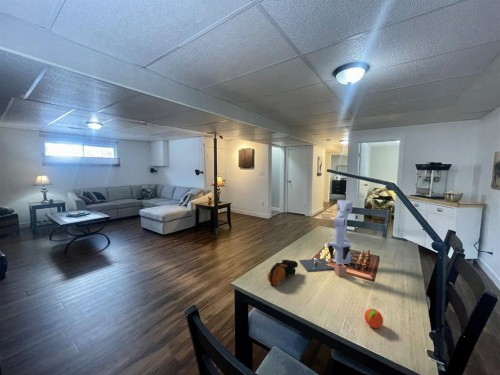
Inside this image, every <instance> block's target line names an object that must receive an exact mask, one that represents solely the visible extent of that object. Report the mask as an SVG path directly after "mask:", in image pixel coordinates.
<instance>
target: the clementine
mask: <svg viewBox="0 0 500 375" xmlns="http://www.w3.org/2000/svg"><path fill="white" fill-rule="evenodd" d="M364 320H365V322H366V324H367V325H369V327H371V328H373V329H378V328H381V327H382V326H383V324H384V317H383V315H382V314H381V312H379V311H378V310H377V309H374V308H369V309H367V310H365V312H364Z"/></svg>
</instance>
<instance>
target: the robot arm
mask: <svg viewBox="0 0 500 375" xmlns="http://www.w3.org/2000/svg"><path fill="white" fill-rule="evenodd" d="M336 208H337V214H336V217H335V218H334V219H333V220H334V222H333V224H334V238H333V242H326V247H327V249H328V251H329V256H330V259H331V260H332V261H333V262H334V263H335V262H336V263H343V264H345V263H351V260H352V259H351V257H352V255H351V251H350V250H351V249H352V244H350V239H349V238H348V237H347V225H348V224H347V223H348V216H349V215H350V214H352V211H353V200H346V199H338V200H337V203H336ZM334 254H335V255H334ZM336 263H335V264H336Z"/></svg>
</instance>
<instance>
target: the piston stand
mask: <svg viewBox="0 0 500 375" xmlns="http://www.w3.org/2000/svg"><path fill="white" fill-rule="evenodd" d="M313 260H314V261H313ZM318 261H319V262H321V263H318ZM298 262H299V263H300V264H301V266H302V267H303V268H304V270H305V271H306V272H318V271H333V270H334V268H335V267H333V266H332V265H331V266H328V265H326V264H330V263H328V261H327V260H326V259H325V258H318V257H314V259H313V258H312V259H299V260H298Z"/></svg>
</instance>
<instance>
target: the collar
mask: <svg viewBox="0 0 500 375" xmlns="http://www.w3.org/2000/svg"><path fill="white" fill-rule="evenodd" d="M333 268H334V275H336V276H337V277H338V278H340V277H347V271H348V270H347V268H348V267H347V265H344V264H343V263H334V267H333Z"/></svg>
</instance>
